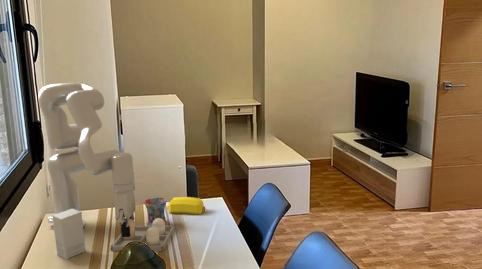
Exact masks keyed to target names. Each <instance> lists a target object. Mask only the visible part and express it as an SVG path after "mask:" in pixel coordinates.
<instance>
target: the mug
mask: <svg viewBox="0 0 482 269" xmlns="http://www.w3.org/2000/svg"><path fill="white" fill-rule="evenodd" d="M167 202H168V200H167V199H166V198H164V197H152V198H148V199H146V200H144V201H143V203H144V206H145V208H146V212H147V222H146V226H152V224H153V221H154V220H155V219H157V218H161V219H163V220H164V222H165V226H167V224H168V221H167V219H166V216H165V208H166V206H167Z"/></svg>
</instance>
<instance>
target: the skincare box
mask: <svg viewBox="0 0 482 269" xmlns="http://www.w3.org/2000/svg"><path fill="white" fill-rule="evenodd" d="M51 217H53V223H52V224H53V226H54V229H53V230H54V238H55V240H54V241H55V245H56V254H57V256H59V257H61V258H63V259H64V260H69V259H70V258H73V257H75V256H77V255H79V254H81V253H85V252H86V251H87V250H86V243H85V233H84V227H83V223H82V220H83V215H82V211H81V210H80V211H78V210H75V209H69V210H67V211H64V212H61V213H58V214H56V213H55V214H53V215H51Z"/></svg>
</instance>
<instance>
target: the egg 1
mask: <svg viewBox="0 0 482 269" xmlns="http://www.w3.org/2000/svg"><path fill="white" fill-rule="evenodd" d="M123 221H124V222H126V220H123ZM134 224H135V220H132V219H130V218H129V226H130V237H122V238H126V239H128V238H132V237H134V236H135V226H136V225H135V226H134Z"/></svg>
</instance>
